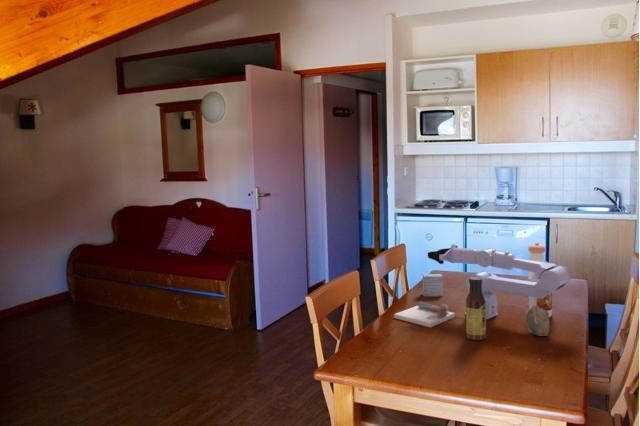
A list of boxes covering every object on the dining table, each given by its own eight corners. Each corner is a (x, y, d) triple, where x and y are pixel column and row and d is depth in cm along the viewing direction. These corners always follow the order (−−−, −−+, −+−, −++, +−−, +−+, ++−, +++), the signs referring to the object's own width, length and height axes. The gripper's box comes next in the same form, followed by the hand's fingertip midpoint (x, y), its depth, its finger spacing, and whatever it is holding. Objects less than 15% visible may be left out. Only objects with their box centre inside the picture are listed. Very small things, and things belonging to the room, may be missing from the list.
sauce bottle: (486, 341, 180) (486, 281, 178) (466, 340, 182) (466, 280, 179) (485, 334, 187) (485, 276, 184) (465, 333, 188) (465, 275, 185)
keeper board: (454, 317, 206) (454, 304, 205) (430, 327, 195) (430, 314, 195) (419, 308, 217) (419, 296, 217) (394, 317, 207) (394, 305, 206)
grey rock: (535, 344, 182) (531, 319, 179) (520, 332, 190) (515, 308, 187) (560, 333, 184) (556, 308, 180) (544, 321, 192) (539, 297, 188)
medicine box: (441, 293, 237) (441, 273, 235) (443, 296, 232) (442, 276, 231) (422, 294, 237) (422, 274, 236) (423, 297, 233) (423, 276, 232)
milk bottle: (527, 317, 202) (528, 263, 200) (530, 311, 209) (531, 258, 207) (550, 319, 199) (551, 264, 196) (552, 313, 206) (553, 260, 203)
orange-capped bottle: (527, 288, 240) (528, 244, 237) (526, 284, 247) (527, 241, 244) (546, 289, 238) (547, 244, 235) (544, 284, 245) (545, 241, 242)
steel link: (450, 312, 206) (450, 304, 205) (445, 314, 204) (445, 306, 203) (422, 305, 215) (422, 298, 214) (417, 307, 213) (416, 300, 212)
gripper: (474, 242, 214) (444, 241, 224) (453, 247, 204) (422, 245, 214) (475, 261, 214) (444, 258, 224) (454, 267, 204) (423, 264, 214)
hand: (434, 253), depth 219 cm, fingers open, 7 cm apart
